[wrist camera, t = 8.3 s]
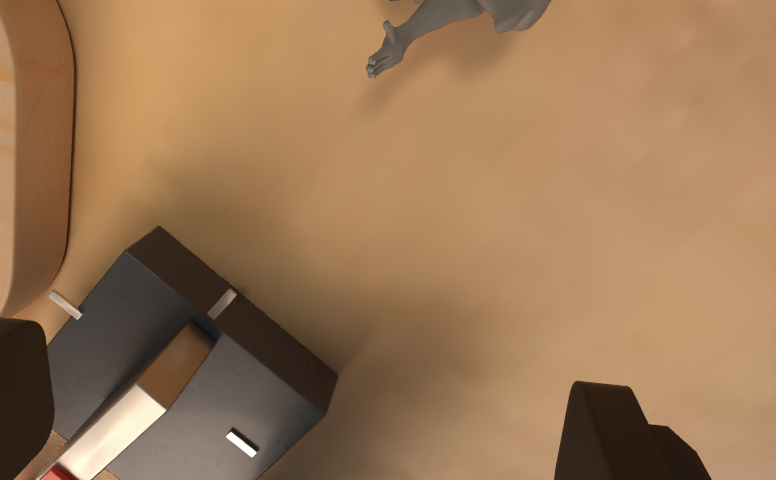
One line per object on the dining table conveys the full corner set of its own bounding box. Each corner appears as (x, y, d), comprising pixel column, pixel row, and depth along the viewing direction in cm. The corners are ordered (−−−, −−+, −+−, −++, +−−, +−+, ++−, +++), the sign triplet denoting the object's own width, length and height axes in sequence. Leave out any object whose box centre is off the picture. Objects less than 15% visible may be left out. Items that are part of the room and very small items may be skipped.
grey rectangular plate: (190, 318, 25) (132, 385, 20) (217, 342, 25) (166, 415, 20) (99, 406, 26) (27, 486, 22) (125, 428, 27) (59, 511, 22)
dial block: (363, 352, 28) (352, 393, 25) (218, 489, 31) (194, 540, 28) (160, 179, 26) (122, 200, 23) (29, 344, 29) (-19, 381, 26)
